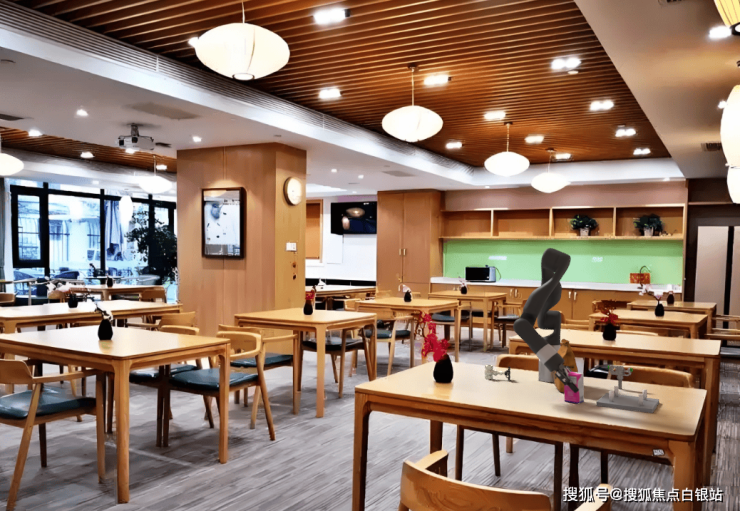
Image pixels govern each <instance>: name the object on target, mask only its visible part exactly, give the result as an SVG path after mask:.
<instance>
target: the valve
mask: <svg viewBox="0 0 740 511" xmlns="http://www.w3.org/2000/svg"><path fill="white" fill-rule="evenodd" d="M511 373H512V372H511V366H507V369H506V370H505V371H502V370H499V371H498V369H494V365H492V364H485V365H484V379H485V380H487V379H492V380H494V377H497V376H498V375H499V376H503V375H504V376H505V378H506V379H507V381H509V380H510V381H511Z"/></svg>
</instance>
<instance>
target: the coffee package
mask: <svg viewBox="0 0 740 511" xmlns="http://www.w3.org/2000/svg"><path fill="white" fill-rule="evenodd" d="M560 343H562V344H561V345H560V349H559V350H558V353H559V354H560V356H561V357H562V358H563V359H564V360H565V362H564V363H563V365H564V366H565V367H566V366H568V367H569V368H570V369H571V370H572V371H573V372H577V373H579V369H578V365H577V362H576V361H577V360H576V356H575V354H574V352H573V349H572V346H571V344H570V340H567V339H565V338H562V339H560ZM555 373H556V371H554V380H555V382H554V386H555V388H556V389H557V390H558V391H559V392H560V393H561V392H563V393H564V384H563V383H562V382H561V381H560V380H559V379H558V378H557V377H556V376H555Z"/></svg>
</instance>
